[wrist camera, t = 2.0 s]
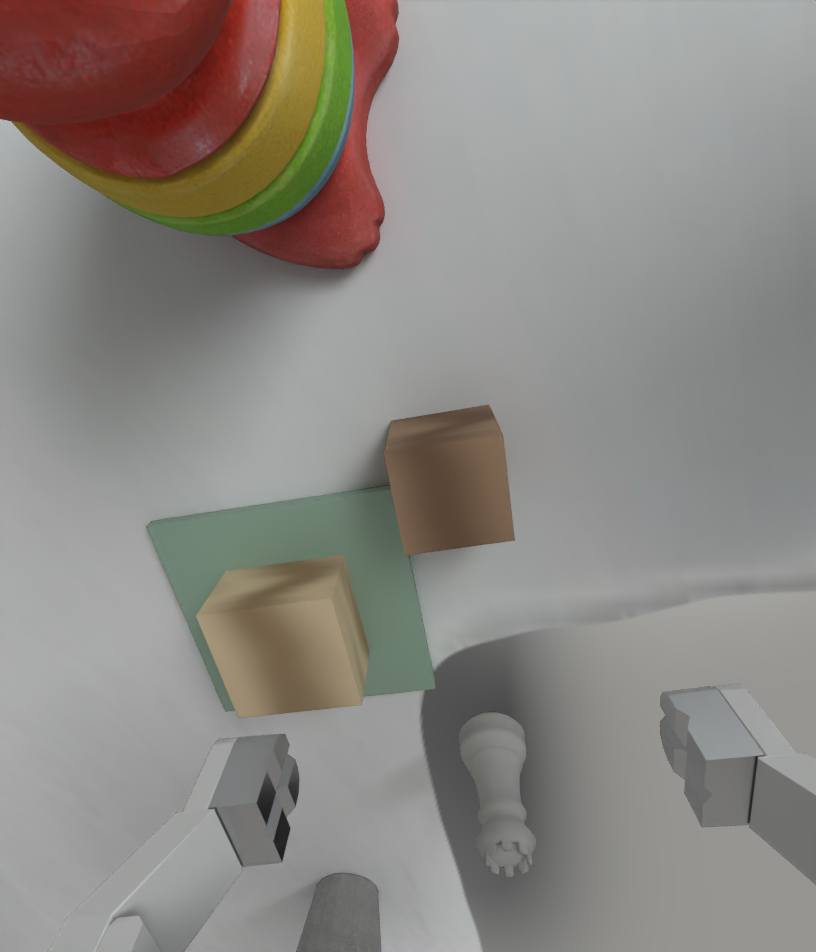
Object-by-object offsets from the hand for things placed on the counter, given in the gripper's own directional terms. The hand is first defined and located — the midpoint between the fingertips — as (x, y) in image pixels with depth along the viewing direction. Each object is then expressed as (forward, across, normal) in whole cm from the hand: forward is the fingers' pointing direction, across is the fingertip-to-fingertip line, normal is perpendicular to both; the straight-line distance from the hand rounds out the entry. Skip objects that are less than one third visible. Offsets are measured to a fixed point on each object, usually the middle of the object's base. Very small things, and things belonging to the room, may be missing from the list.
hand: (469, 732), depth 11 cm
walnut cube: (+17, 0, 0) cm, 17 cm away
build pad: (+17, +10, +8) cm, 21 cm away
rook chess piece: (+17, 0, +20) cm, 26 cm away
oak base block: (+16, +10, +8) cm, 20 cm away
